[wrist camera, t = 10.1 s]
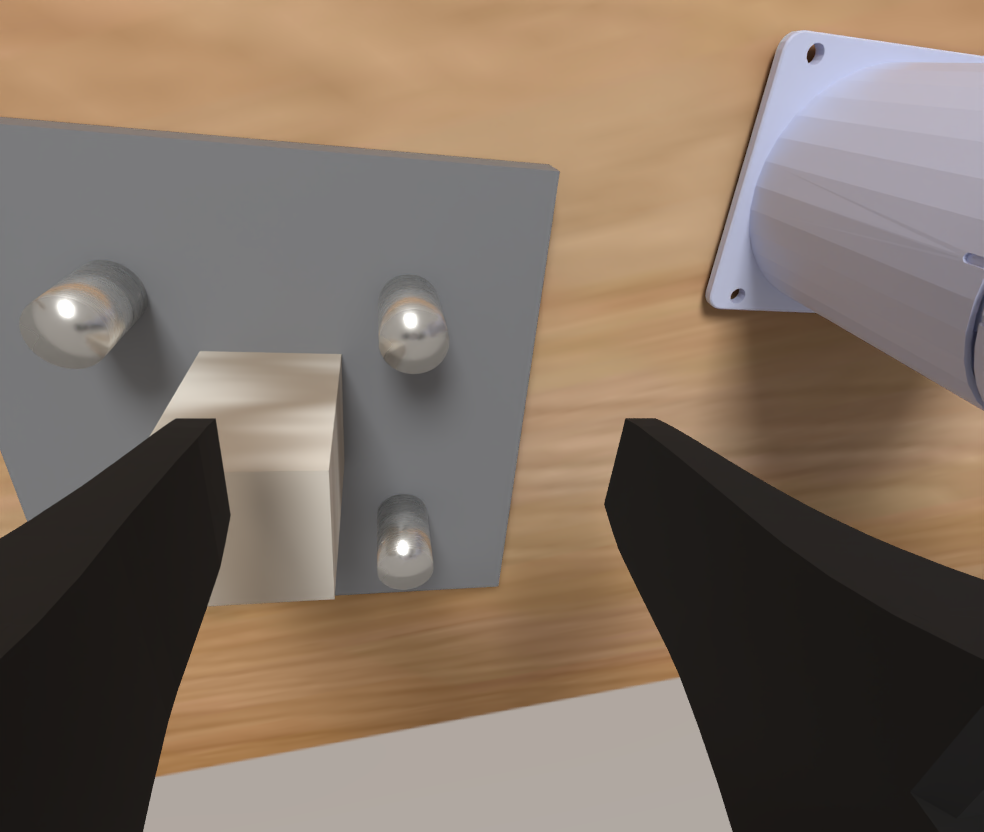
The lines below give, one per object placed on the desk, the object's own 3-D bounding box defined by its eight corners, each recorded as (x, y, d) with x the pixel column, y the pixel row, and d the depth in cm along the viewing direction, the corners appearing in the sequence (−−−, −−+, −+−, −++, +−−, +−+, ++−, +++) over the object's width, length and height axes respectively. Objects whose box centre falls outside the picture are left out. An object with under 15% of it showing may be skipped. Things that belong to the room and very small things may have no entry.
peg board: (548, 164, 17) (590, 191, 14) (493, 565, 25) (511, 643, 22) (-92, 108, 14) (-236, 126, 11) (75, 585, 22) (22, 679, 19)
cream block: (341, 353, 18) (328, 470, 13) (344, 462, 20) (334, 599, 15) (199, 351, 17) (128, 473, 12) (217, 463, 19) (161, 608, 14)
